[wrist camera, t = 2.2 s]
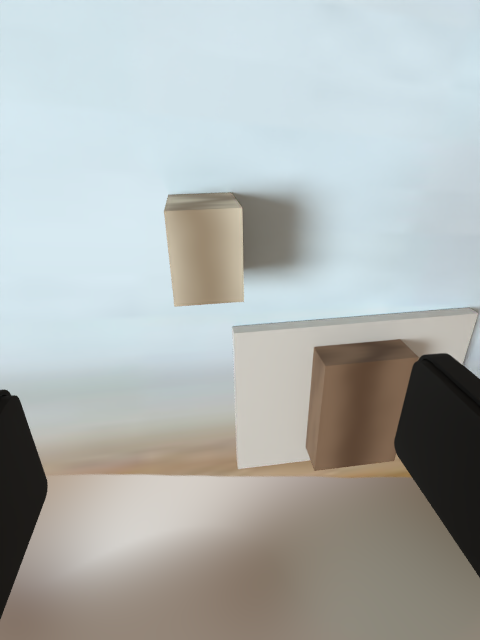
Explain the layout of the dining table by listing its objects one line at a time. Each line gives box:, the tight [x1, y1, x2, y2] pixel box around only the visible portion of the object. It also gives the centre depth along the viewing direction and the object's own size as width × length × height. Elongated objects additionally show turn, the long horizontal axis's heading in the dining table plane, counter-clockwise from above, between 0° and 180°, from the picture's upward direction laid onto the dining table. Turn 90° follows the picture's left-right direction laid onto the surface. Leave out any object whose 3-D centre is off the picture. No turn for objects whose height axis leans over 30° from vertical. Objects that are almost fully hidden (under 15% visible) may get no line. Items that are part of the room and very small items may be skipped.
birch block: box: [164, 192, 244, 306], centre depth 25 cm, size 4×6×6 cm
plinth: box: [306, 339, 419, 471], centre depth 34 cm, size 8×12×3 cm, turn 1°
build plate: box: [232, 308, 478, 469], centre depth 36 cm, size 22×16×1 cm
